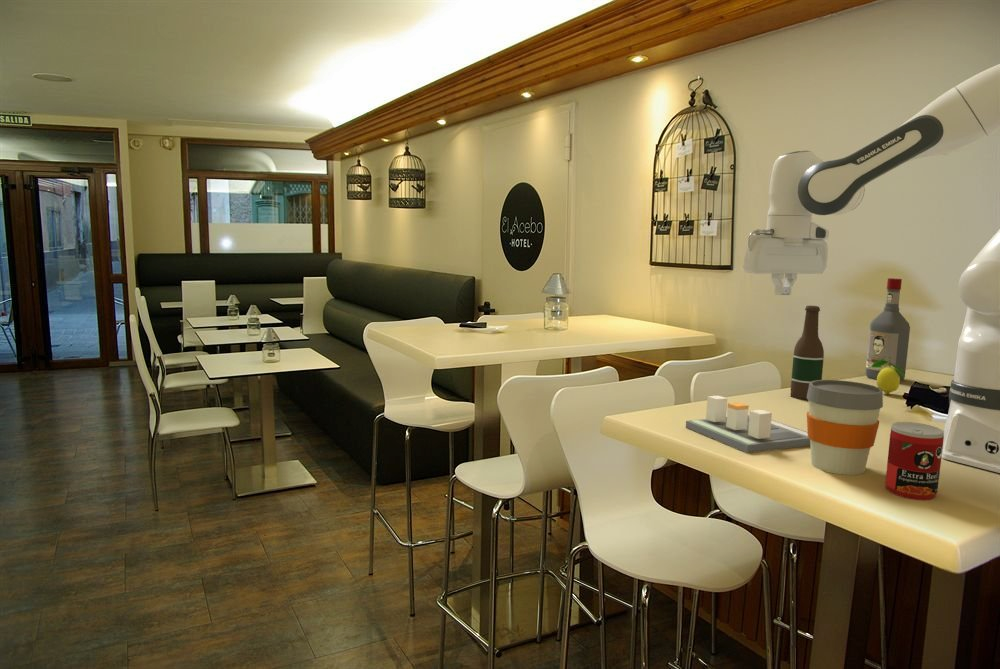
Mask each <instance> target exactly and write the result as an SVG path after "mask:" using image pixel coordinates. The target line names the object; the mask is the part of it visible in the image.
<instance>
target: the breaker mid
mask: <svg viewBox="0 0 1000 669" xmlns="http://www.w3.org/2000/svg"><path fill="white" fill-rule="evenodd" d="M749 406H750V405H749V404H747V403H746V404H745V403H743V402H740V401H738V402H729V403H728V402H727V411H726V417H727V421H726V427H728V428H731V429H733V430H742V429H747V420H748V415H749Z"/></svg>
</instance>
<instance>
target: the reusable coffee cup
mask: <svg viewBox="0 0 1000 669" xmlns="http://www.w3.org/2000/svg"><path fill="white" fill-rule="evenodd" d="M883 393H884V391H883V390H882V389H880V388H878V386H875V385H873V384H867V383H862V382H856V381H848V380H838V379H837V380H836V379H822V380H816V381H812V382H810V383H809V388H808V393H807V399H808V400H807V401H808V411H807V412H806V425H807V426H806V427H807V428H806V429H807V431H806V432H808V438H809V439H810V444H811V445H810V459H811V460H810V463H811V465H812V466H813V467H814V468H816V469H819V470H821V471H824V472H828V473H832V474H836V475H849V476H853V475H854V476H855V475H861V474H863V473H865V470H866V466H867V462H868V458H869V456H870V451H871V448H873V447H874V445H875V441H876V438H877V432H878V430H879V426H880V420H879V414H880V410H881V409H882V408H883V407H884V405H883V404H884V403H883V402H884V399H883V395H884V394H883Z"/></svg>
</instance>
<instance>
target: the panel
mask: <svg viewBox="0 0 1000 669" xmlns="http://www.w3.org/2000/svg"><path fill="white" fill-rule="evenodd" d="M749 417H750V414H748V420H747V429H742V430H733V429H731V428H728V427H726V421H727V416H726V421H722V422H713V421H710V420H707V419H706V418H702V419H701V418H700V419H693V420H691V419H690V420H686V421H685V429H688V428H689V429H688V430H690V429H691V430H690V431H693V432H695V431H696V433H698V434H700V433H701V435H702V434H703V436H705V437H707V436H708V437H707V438H710V437H711V438H710V439H712V438H713V439H712V440H715V441H717V440H718V441H717V442H719V441H720V442H719V443H722V444H724V445H727V446H728V447H729V446H730V447H732V448H734V449H736V450H739V451H742V452H743V453H746V454H751V453H758V452H766V451H774V450H775V451H776V450H783V449H791V448H797V447H798V448H799V447H807V446H808V447H809V446H811V444H810V439H809V438H808V431H806V430H803V429H799V428H798V427H793V426H790V425H788V424H785V423H782V422H779V421H776V420H773V419H771V430H770V438H761V439H757V438H755V437H752V436H749V435H748V430H749Z"/></svg>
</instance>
